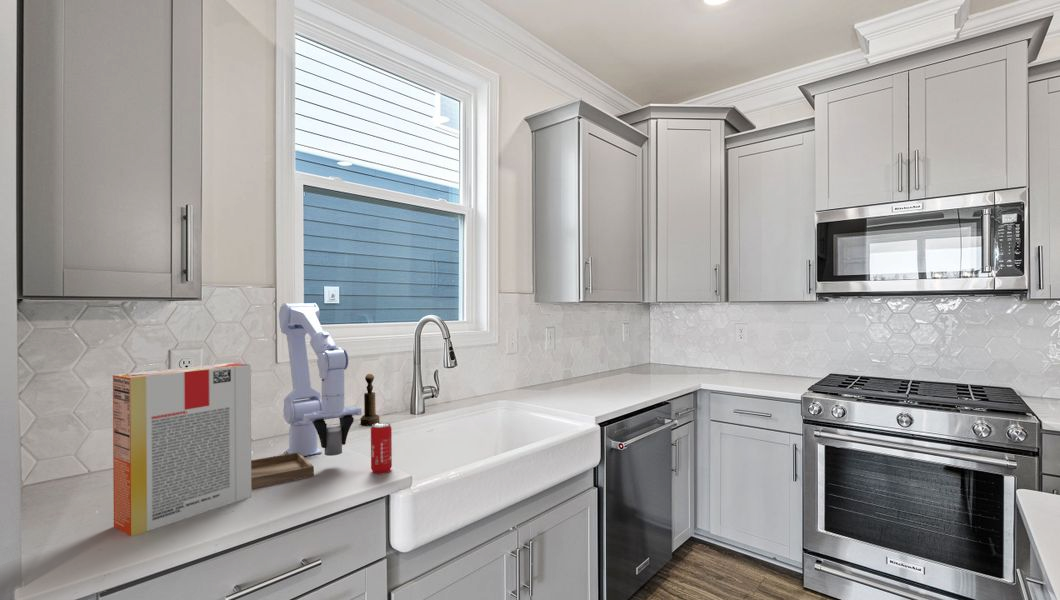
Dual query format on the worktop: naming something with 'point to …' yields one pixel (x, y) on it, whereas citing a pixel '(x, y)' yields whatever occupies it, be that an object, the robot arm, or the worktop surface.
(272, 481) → the walnut tray
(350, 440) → the worktop surface
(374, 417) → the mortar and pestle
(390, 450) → the beverage can
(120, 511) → the cereal box
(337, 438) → the cylinder
